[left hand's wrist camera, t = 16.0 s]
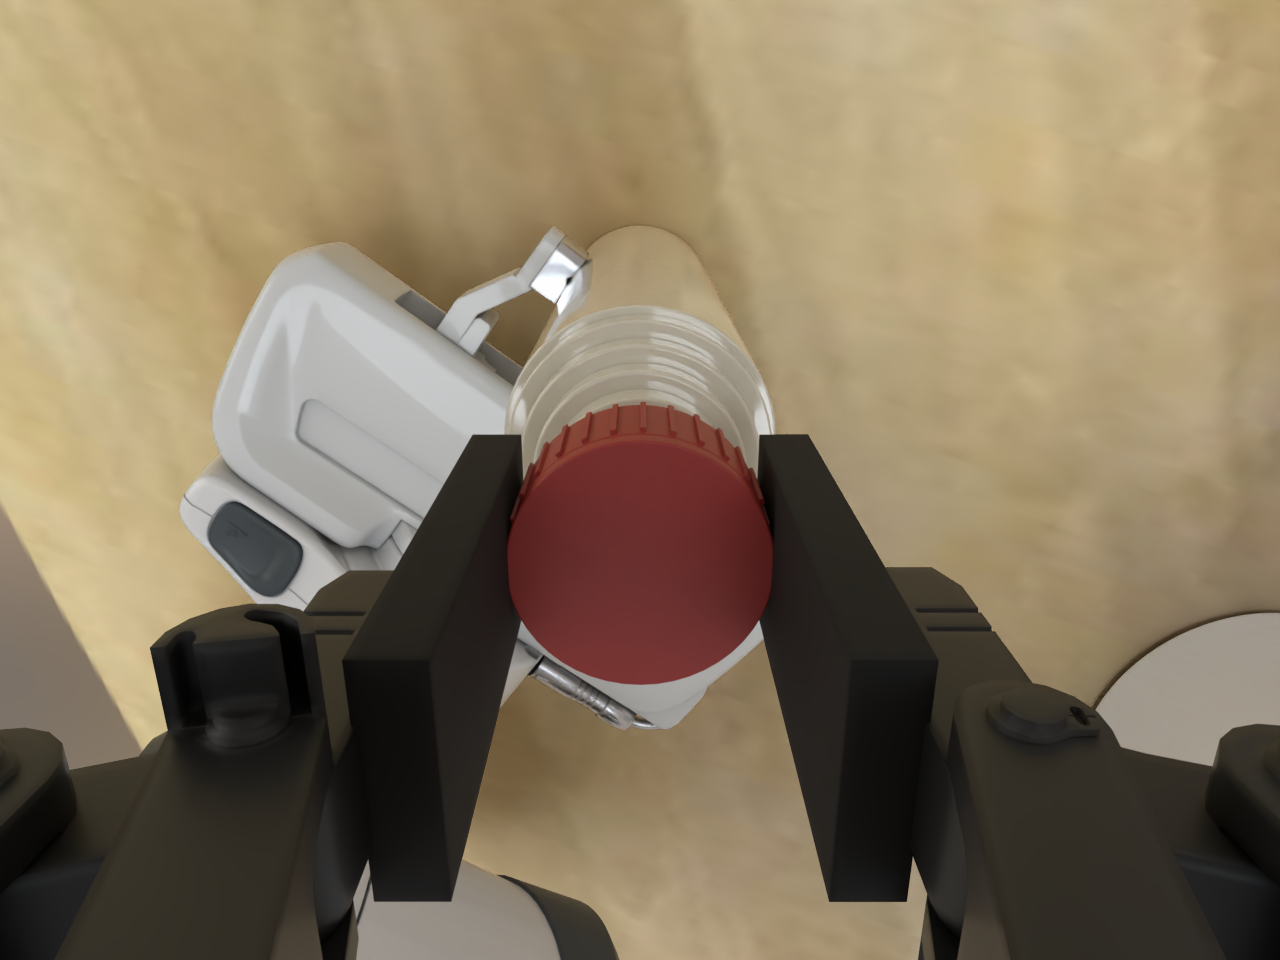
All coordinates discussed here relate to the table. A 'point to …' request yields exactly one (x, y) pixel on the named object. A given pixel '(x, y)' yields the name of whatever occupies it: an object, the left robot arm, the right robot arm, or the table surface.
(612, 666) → the cap
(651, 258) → the bottle
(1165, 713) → the right robot arm
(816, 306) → the table surface
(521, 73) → the table surface
